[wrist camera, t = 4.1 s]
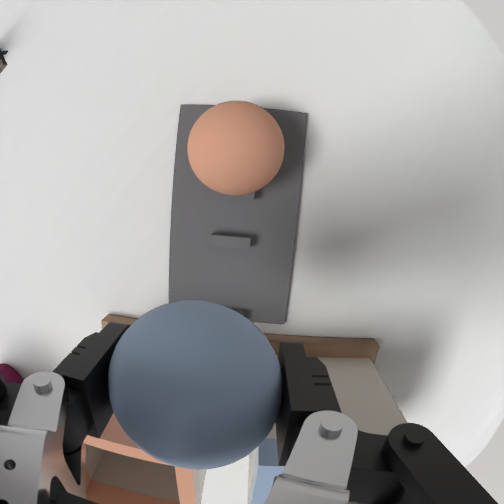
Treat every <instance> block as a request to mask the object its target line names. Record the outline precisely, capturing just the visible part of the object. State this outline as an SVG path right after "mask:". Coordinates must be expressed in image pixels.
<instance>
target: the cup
mask: <svg viewBox="0 0 504 504" xmlns="http://www.w3.org/2000/svg"><path fill="white" fill-rule="evenodd" d="M0 371H1V374H2V377H3V379H4V382H9V383H18V384H22V382H23V381H24V380H23V378H22V377H21V376H20V375H19V374H18V372H17V371H15V370H14V369H13V368H12V367H10V366H9V365H6V364H0Z"/></svg>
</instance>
